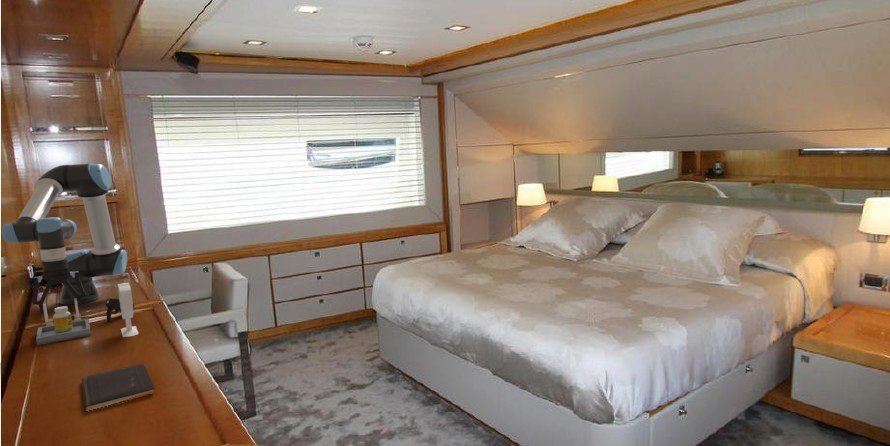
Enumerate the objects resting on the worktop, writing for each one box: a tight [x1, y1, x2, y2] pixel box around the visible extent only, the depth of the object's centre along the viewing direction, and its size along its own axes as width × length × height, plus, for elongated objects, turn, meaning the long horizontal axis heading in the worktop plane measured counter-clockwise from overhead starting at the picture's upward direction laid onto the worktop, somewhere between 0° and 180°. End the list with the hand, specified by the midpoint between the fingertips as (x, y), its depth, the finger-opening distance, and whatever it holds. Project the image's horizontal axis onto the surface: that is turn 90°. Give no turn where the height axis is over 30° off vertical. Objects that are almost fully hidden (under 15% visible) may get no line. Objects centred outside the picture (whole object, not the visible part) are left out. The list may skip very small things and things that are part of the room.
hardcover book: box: [81, 363, 156, 413], centre depth 150 cm, size 16×23×2 cm
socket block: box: [45, 313, 82, 326], centre depth 212 cm, size 11×11×2 cm
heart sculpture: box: [117, 282, 139, 338], centre depth 200 cm, size 16×5×18 cm, turn 34°
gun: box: [105, 297, 136, 322], centre depth 221 cm, size 3×16×10 cm, turn 175°
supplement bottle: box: [52, 305, 73, 334], centre depth 200 cm, size 5×5×10 cm
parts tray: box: [36, 318, 92, 346], centre depth 200 cm, size 16×16×2 cm
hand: (62, 318), depth 199 cm, fingers open, 9 cm apart
